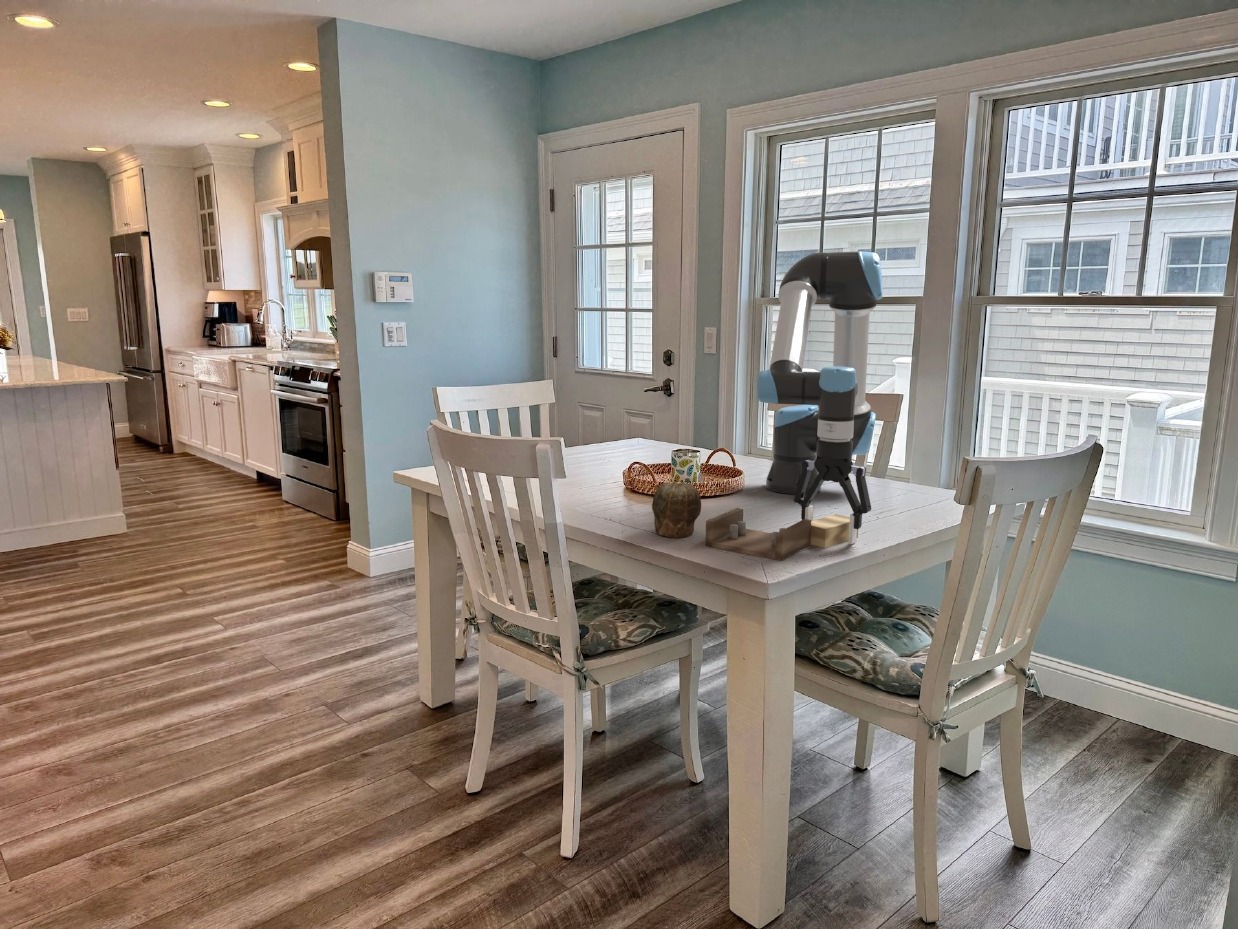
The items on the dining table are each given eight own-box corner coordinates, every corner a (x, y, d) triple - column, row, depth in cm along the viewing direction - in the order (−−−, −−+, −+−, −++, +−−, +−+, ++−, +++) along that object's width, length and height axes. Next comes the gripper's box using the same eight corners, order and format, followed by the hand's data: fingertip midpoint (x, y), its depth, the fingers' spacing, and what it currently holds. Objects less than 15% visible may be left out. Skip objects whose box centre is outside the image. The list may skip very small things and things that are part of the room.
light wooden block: (824, 549, 178) (825, 529, 177) (802, 543, 183) (802, 523, 182) (857, 539, 186) (858, 519, 185) (835, 533, 190) (836, 514, 189)
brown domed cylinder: (665, 543, 182) (666, 489, 179) (644, 530, 192) (644, 479, 189) (709, 537, 186) (710, 485, 184) (686, 525, 196) (686, 475, 193)
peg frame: (705, 545, 180) (706, 521, 179) (736, 531, 191) (737, 507, 190) (782, 560, 169) (783, 534, 168) (810, 544, 180) (811, 520, 179)
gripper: (780, 436, 183) (776, 534, 187) (879, 446, 170) (873, 551, 175) (794, 431, 189) (790, 527, 193) (891, 441, 176) (885, 543, 180)
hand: (829, 538), depth 184 cm, fingers open, 10 cm apart
